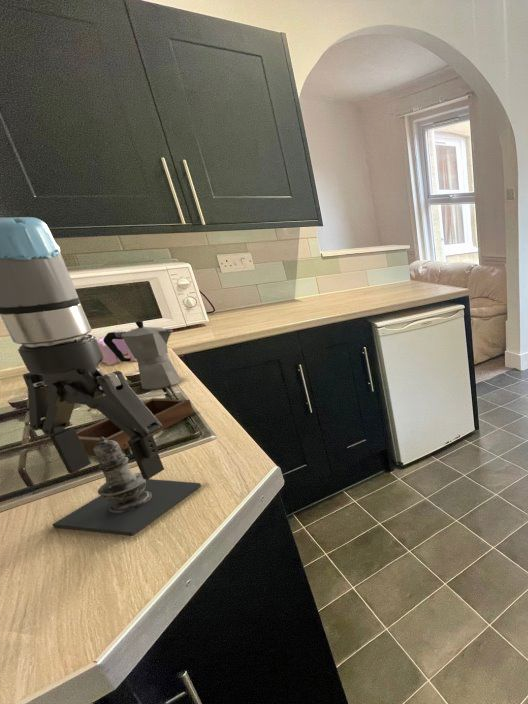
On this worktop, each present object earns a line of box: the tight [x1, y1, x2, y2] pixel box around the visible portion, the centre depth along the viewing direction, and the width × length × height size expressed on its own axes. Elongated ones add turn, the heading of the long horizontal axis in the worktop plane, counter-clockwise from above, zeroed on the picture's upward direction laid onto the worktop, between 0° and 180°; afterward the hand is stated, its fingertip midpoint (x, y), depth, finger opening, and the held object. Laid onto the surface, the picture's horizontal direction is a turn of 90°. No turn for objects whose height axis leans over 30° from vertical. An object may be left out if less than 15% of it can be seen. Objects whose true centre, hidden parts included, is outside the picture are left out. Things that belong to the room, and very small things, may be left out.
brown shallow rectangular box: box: [76, 397, 195, 456], centre depth 90 cm, size 10×19×4 cm, turn 171°
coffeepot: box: [103, 320, 182, 390], centre depth 114 cm, size 15×9×18 cm, turn 110°
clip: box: [96, 328, 137, 366], centre depth 142 cm, size 20×12×7 cm, turn 32°
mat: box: [51, 478, 202, 536], centre depth 67 cm, size 14×12×1 cm
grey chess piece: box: [94, 437, 152, 513], centre depth 65 cm, size 6×6×12 cm
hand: (116, 471), depth 65 cm, fingers open, 13 cm apart
